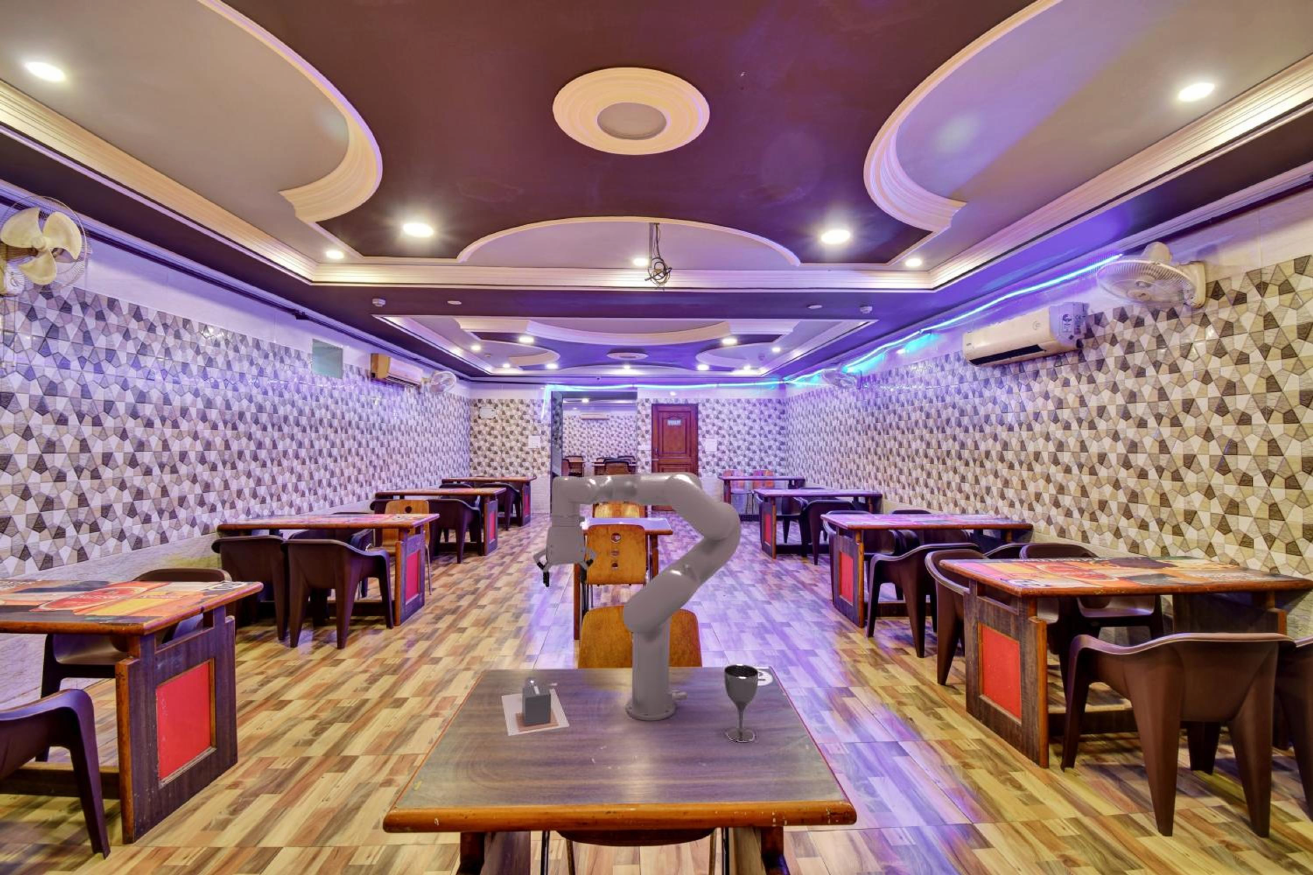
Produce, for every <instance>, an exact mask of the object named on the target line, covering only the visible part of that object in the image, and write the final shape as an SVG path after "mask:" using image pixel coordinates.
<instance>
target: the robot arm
mask: <svg viewBox="0 0 1313 875" xmlns="http://www.w3.org/2000/svg"><path fill="white" fill-rule="evenodd" d="M551 488H552V490H551V491H552V493H551V526H548V528H547V535H546V543H545V544H546V545H545V548H544V549H541V550H540V551H538V552H536V553H534V554H533V555H532V558H533V560H534V562H535V564H536V566H537V567H538V568H539V569H540V570H541V571H542V584H543V585H544V586H545V587H546V588H550V575H551V574H550V571H549V570H550V569H551V568H552V566H553V565H555V566H556V565H557V566H558V565H575V564H579V565H580V566H581V567H580V569H579V571H580V572H579V583H580V585H586V582H587V581H588V570H589V568H590V566H592V565H593V563H594V560H595V559H596V557H597V555H598V553H597V552H596V551H594V550H593V549H590V548H588V547H587V546H585V540H584V539H585V538H584V537H585V536H584V531H583V526H582V525H581V523H583V522H584V523H585V521H586V517H585V516H582V515H581V514H580V513H581V512H580V511H581V505H585V506H586V505H587V506H591V505H596V504H600V503H606V502H607V503H609V502H616V503H617V502H619V503H620V502H621V503H622V502H626V503H635V504H636V505H638V506H643V507H644V506H645V507H646V506H669V507H671V508H672V510H674V511H675V513H677V514H678V515H679V516H680V517H681V518H682V519H683V520H684V521H685V522H687V524H689V525H690V526H691V527H692V528H693V529H694V530H695V532H697V533H699V534H700V535H701V536H702V537H703V538H702V539H701V540H700V541H698V542H697V543H696V544H695V545H694V546H693V547H692V548H691V549H690V550H689V551H687V552H686V553H684V554H683V556H681V557H680V558H679V559H677V560H675V561H674V562H672V563H670V564H669V565H667V566H666V567H665V568H663V569H662V570H661V571H660V572H659V573H658V574H656V575H655V576H654V577H653V578H652V579H651V580H649V581H648V583H646V584H644V586H642V587H641V588H640V589H639V590H638V591H636V592H635V594H633V595H632V596H631V597H629V599H627V600H626V602H625V604H624V606H623V610H622V619H623V623H624V625H625V627H626V628H627V629H628V630H629V631H630V632H632V671H631V672H632V681H631V682H632V684H631V686H632V687H631V690H632V691H631V698H630V699H629V700H628V701H627V702H626V705H625V710H626V711H625V712H626V713H627V714H628V715H629V716H630V717H633V718H634V719H638V720H640V721H641V720H643V721H661V720H664V719H666V718H668V717H671V716H672V715H673V714H674V713H675V712H676V711H675V710H676V706H675V703H676V701H684V700H687V697H688V695H687V692H686V691H679V689H672V690H670V636H671V635H670V634H671V633H670V632H671V624H672V623H671V620H672V616H673V615H675V613H677V612H678V611H679V610H680V609H682V608H683V607H684V606H685V605H686V604H688V602H689V601H690V600H691V599H692V598H693V596H694V595H695V594H696V593H697V591H698V590H699V588H700V587H702V585H704V584H705V583H706V582H708V580H709V579H710V578H712V577H713V576H714V575H715V574H716V573H717V572H718V571H719V570H720V569H721V568H723V567H724V566H725V565H726V564H727V563H728V562H729V561H730V559H732V557H733V555H735V552H736V551H737V549H738V547H739V544H740V541H741V536H742V525H741V519H740V515H739V512H738V511H737V509H736V508H735V507H734V506H733V505H732V504H730V503H729V502H725V501H716V500H715V499H713V498H712V497H711V496H710V495H709V494H708V493H707V492H706V491H704V489H703V484H702V481H701V478H699V476H698V475H696V474H694V473H693V472H688V471H685V472H684V471H682V472H680V471H679V472H678V471H677V472H676V471H675V472H642V473H641V472H640V473H639V472H638V473H635V474H607V475H604V474H603V475H602V474H601V475H590V476H589V475H587V476H582V477H578V476H571V475H569V476H568V475H567V476H566V475H562V476H561V475H560V476H555V477H554V478H553V480H552V485H551ZM585 554H588V555H589V558H588V559H587V560H586V561H585V558H586V556H585ZM543 556H545V560H546V562H545V563H544V564H543V563H542V562H541V559H540V558H542V557H543Z"/></svg>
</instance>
